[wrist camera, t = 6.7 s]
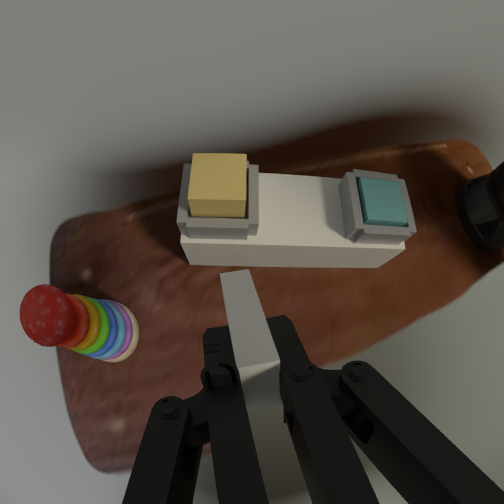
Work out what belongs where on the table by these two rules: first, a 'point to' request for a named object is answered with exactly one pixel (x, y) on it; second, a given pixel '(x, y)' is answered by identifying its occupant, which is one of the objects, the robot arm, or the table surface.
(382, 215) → the teal button
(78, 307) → the stacking toy
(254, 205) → the button console
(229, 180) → the mustard button
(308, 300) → the table surface
